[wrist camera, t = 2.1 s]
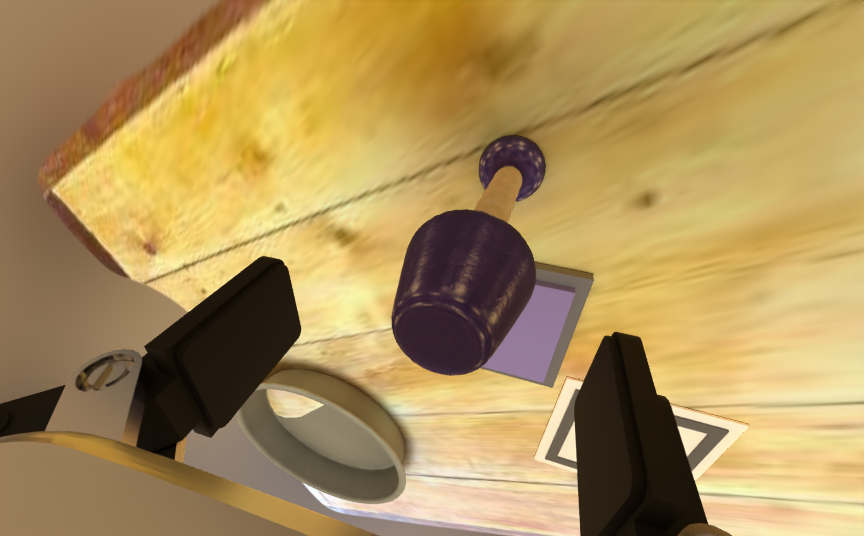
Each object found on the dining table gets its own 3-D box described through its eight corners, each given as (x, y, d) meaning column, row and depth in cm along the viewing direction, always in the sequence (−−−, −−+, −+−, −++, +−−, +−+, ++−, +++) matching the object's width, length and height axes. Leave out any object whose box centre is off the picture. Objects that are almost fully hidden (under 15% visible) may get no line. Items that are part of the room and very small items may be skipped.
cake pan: (408, 381, 39) (393, 416, 36) (422, 490, 53) (412, 524, 49) (231, 341, 46) (203, 367, 42) (284, 447, 59) (266, 474, 56)
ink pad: (593, 273, 25) (594, 285, 24) (552, 380, 32) (552, 393, 31) (432, 242, 28) (427, 250, 27) (427, 347, 35) (422, 357, 34)
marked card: (748, 424, 28) (750, 428, 28) (672, 501, 36) (673, 505, 36) (567, 376, 31) (567, 380, 31) (533, 457, 39) (533, 461, 39)
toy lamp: (462, 153, 24) (331, 314, 10) (523, 107, 21) (453, 243, 8) (502, 210, 25) (432, 417, 12) (564, 173, 22) (565, 386, 9)
